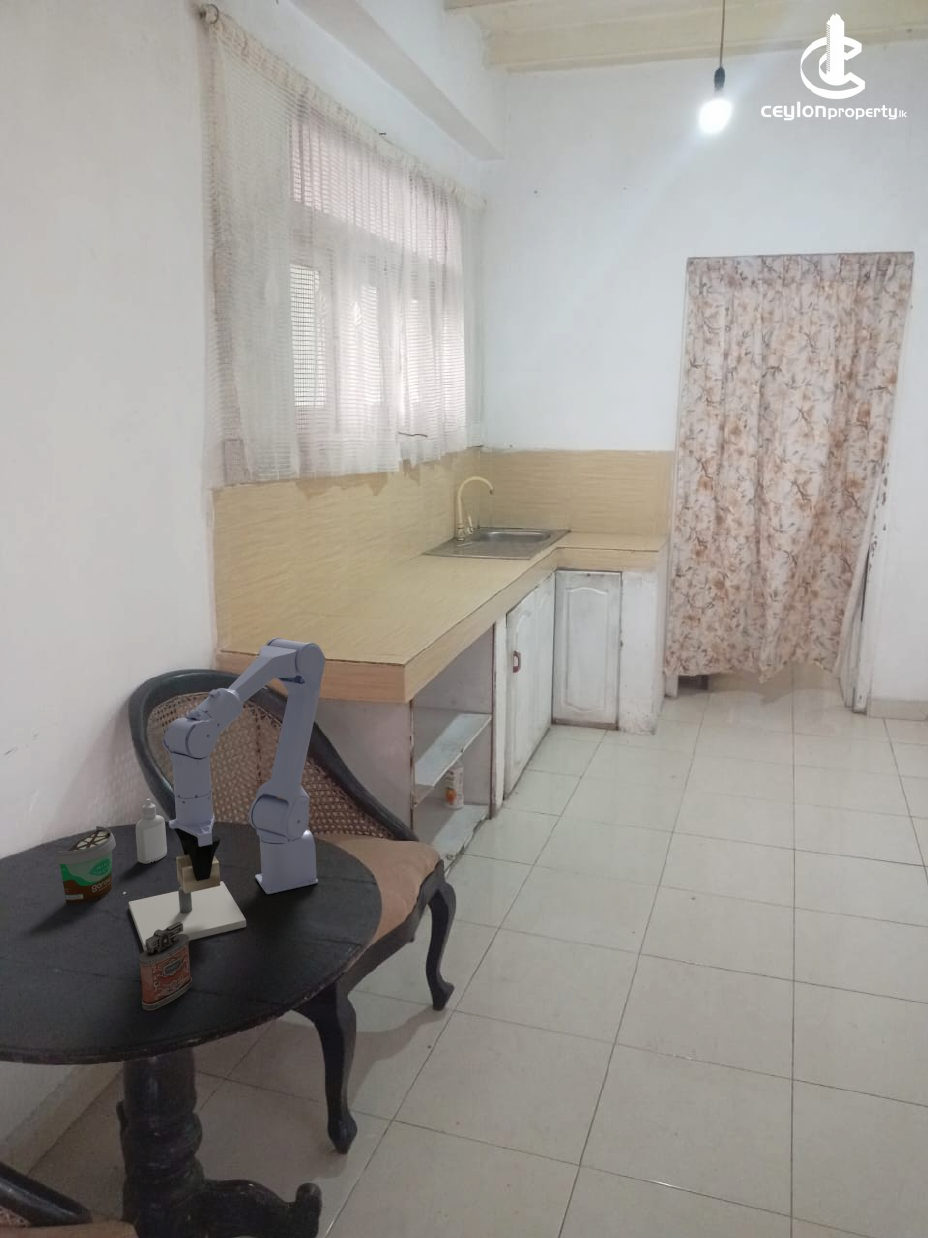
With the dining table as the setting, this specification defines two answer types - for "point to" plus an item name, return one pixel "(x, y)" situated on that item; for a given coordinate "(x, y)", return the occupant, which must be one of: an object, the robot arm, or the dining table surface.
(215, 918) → the post board
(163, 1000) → the lighter
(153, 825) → the eye dropper bottle
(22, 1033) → the dining table surface
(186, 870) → the maple sleeve
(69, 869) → the food container
